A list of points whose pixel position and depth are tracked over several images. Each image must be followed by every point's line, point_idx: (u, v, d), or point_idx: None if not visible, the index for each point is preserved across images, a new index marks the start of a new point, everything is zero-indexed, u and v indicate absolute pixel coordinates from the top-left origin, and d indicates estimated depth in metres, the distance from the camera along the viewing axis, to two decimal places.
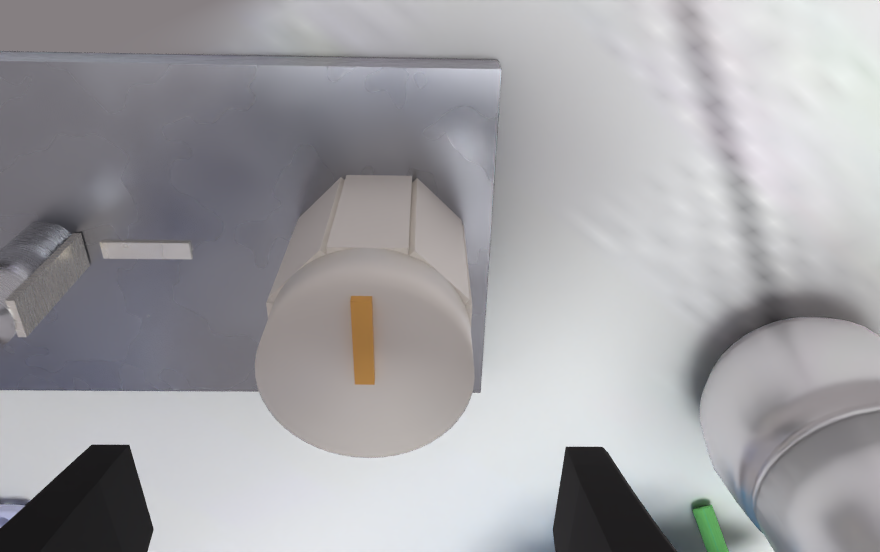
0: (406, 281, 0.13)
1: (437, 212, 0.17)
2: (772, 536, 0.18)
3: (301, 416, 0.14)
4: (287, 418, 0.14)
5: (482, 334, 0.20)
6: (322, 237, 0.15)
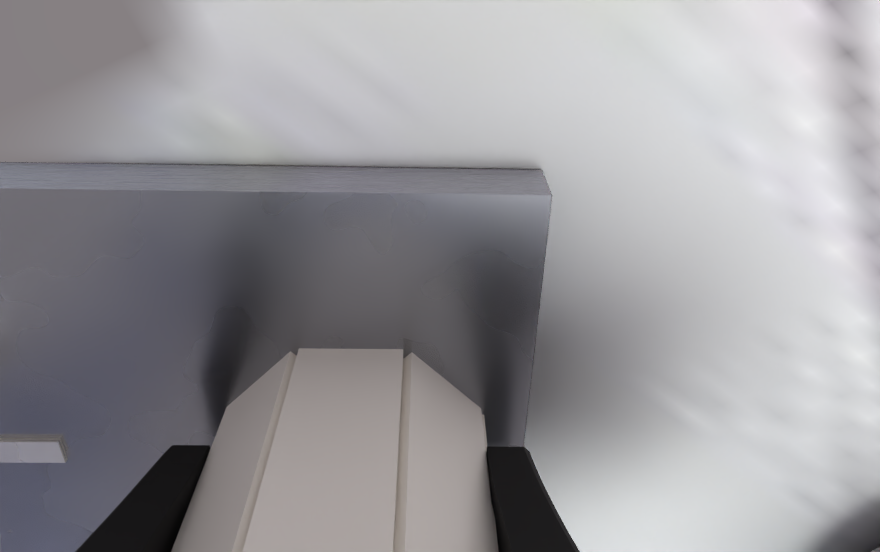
0: None
1: (444, 417, 0.10)
2: None
3: None
4: None
5: None
6: (238, 523, 0.08)
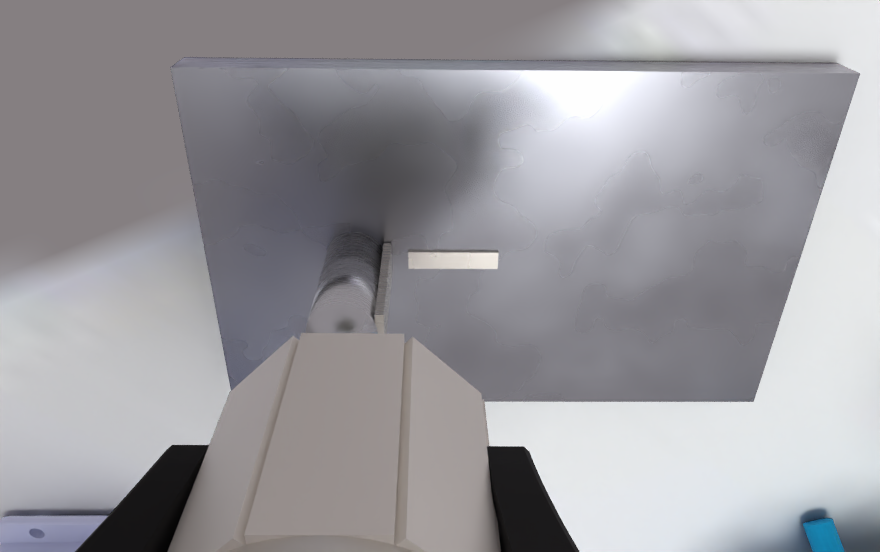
0: None
1: (444, 400, 0.11)
2: None
3: None
4: None
5: (770, 342, 0.20)
6: (243, 498, 0.08)
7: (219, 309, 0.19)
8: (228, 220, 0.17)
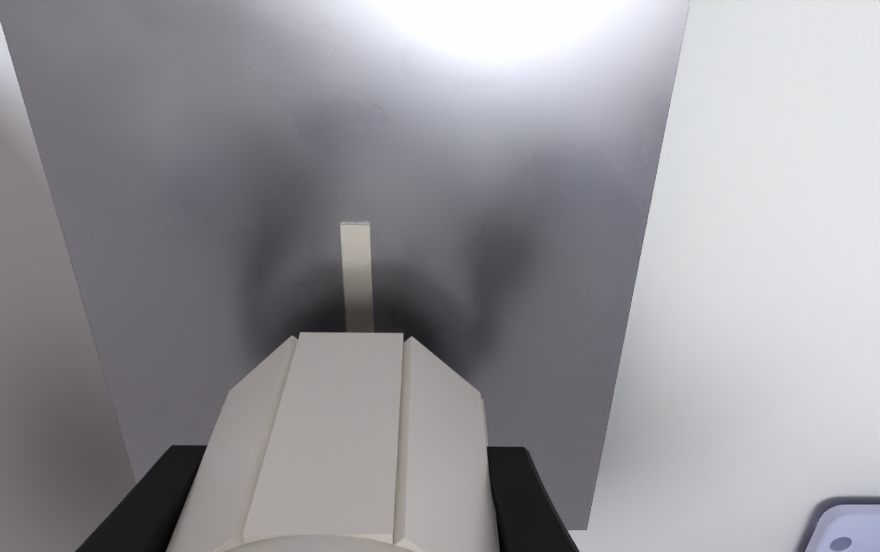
0: None
1: (443, 399, 0.11)
2: None
3: None
4: None
5: None
6: (241, 497, 0.08)
7: None
8: None
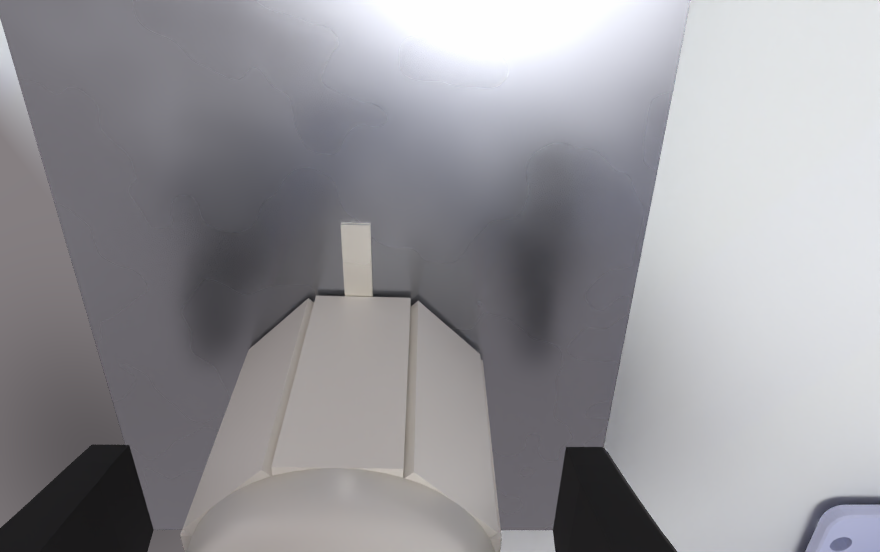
0: (399, 549, 0.08)
1: (447, 357, 0.12)
2: None
3: None
4: None
5: None
6: (268, 437, 0.09)
7: None
8: None
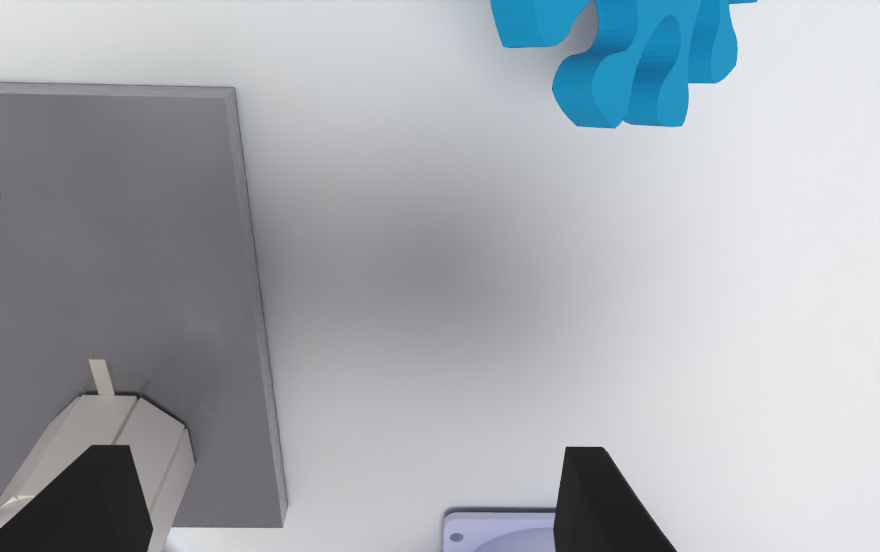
0: None
1: (149, 431, 0.21)
2: None
3: None
4: None
5: (134, 98, 0.17)
6: (23, 480, 0.19)
7: (190, 525, 0.25)
8: None
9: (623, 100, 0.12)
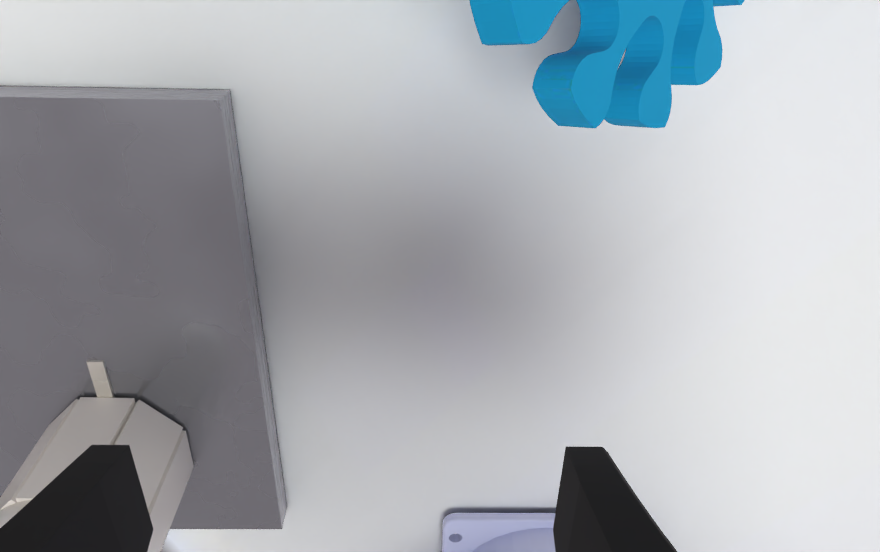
0: None
1: (148, 433, 0.21)
2: None
3: None
4: None
5: (130, 100, 0.17)
6: (21, 482, 0.19)
7: (190, 527, 0.25)
8: None
9: (604, 100, 0.12)
